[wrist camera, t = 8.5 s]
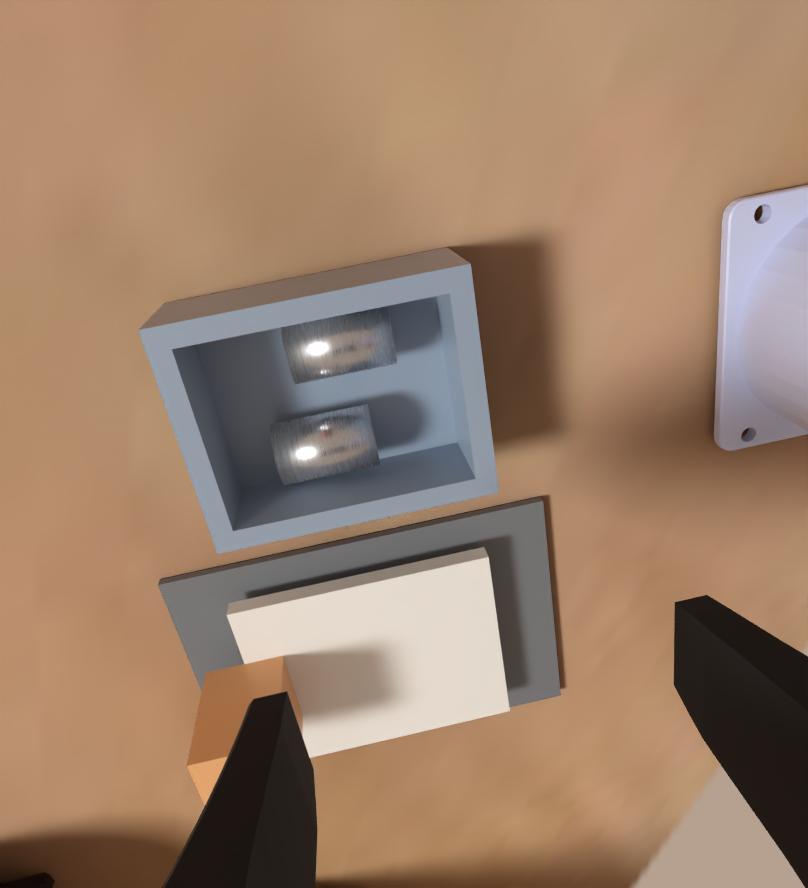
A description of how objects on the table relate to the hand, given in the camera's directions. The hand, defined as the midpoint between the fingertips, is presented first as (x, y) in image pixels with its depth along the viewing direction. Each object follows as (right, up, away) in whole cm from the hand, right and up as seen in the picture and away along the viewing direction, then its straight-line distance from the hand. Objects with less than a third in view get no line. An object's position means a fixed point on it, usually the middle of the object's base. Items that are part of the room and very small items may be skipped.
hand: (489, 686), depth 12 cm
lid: (-2, -3, +11) cm, 12 cm away
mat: (-2, -3, +12) cm, 12 cm away
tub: (-4, +6, +8) cm, 11 cm away
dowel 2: (-4, +5, +8) cm, 10 cm away
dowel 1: (-3, +7, +7) cm, 10 cm away
